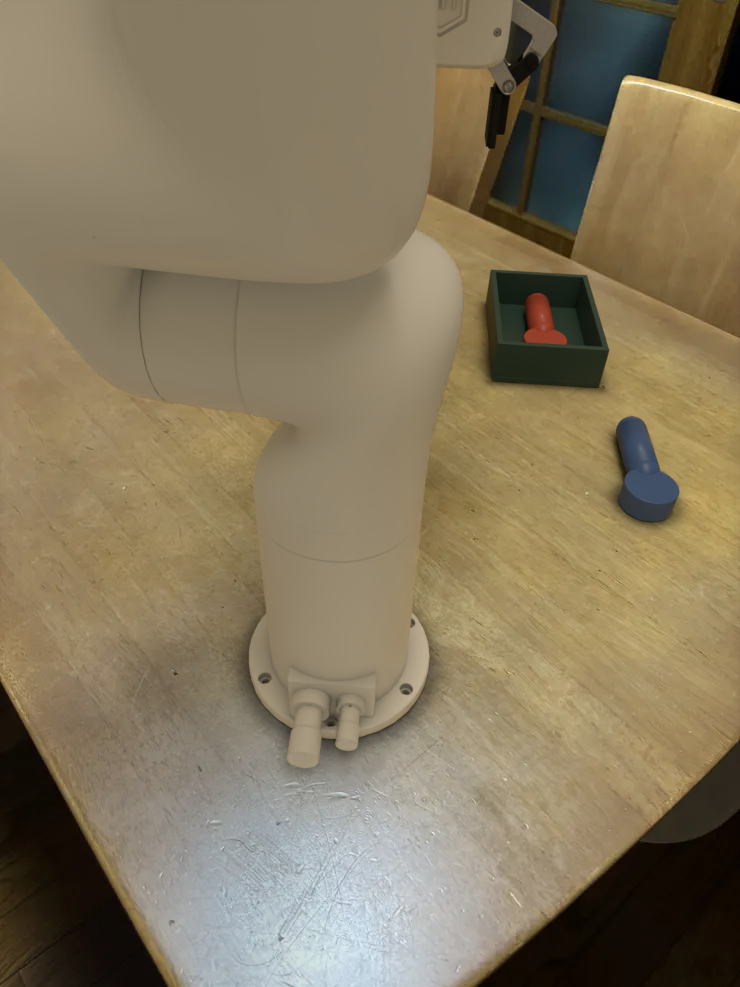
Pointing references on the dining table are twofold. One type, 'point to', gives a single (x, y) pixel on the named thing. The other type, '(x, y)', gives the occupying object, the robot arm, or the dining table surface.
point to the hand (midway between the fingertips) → (430, 140)
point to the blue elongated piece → (643, 475)
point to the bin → (570, 317)
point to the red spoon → (541, 322)
